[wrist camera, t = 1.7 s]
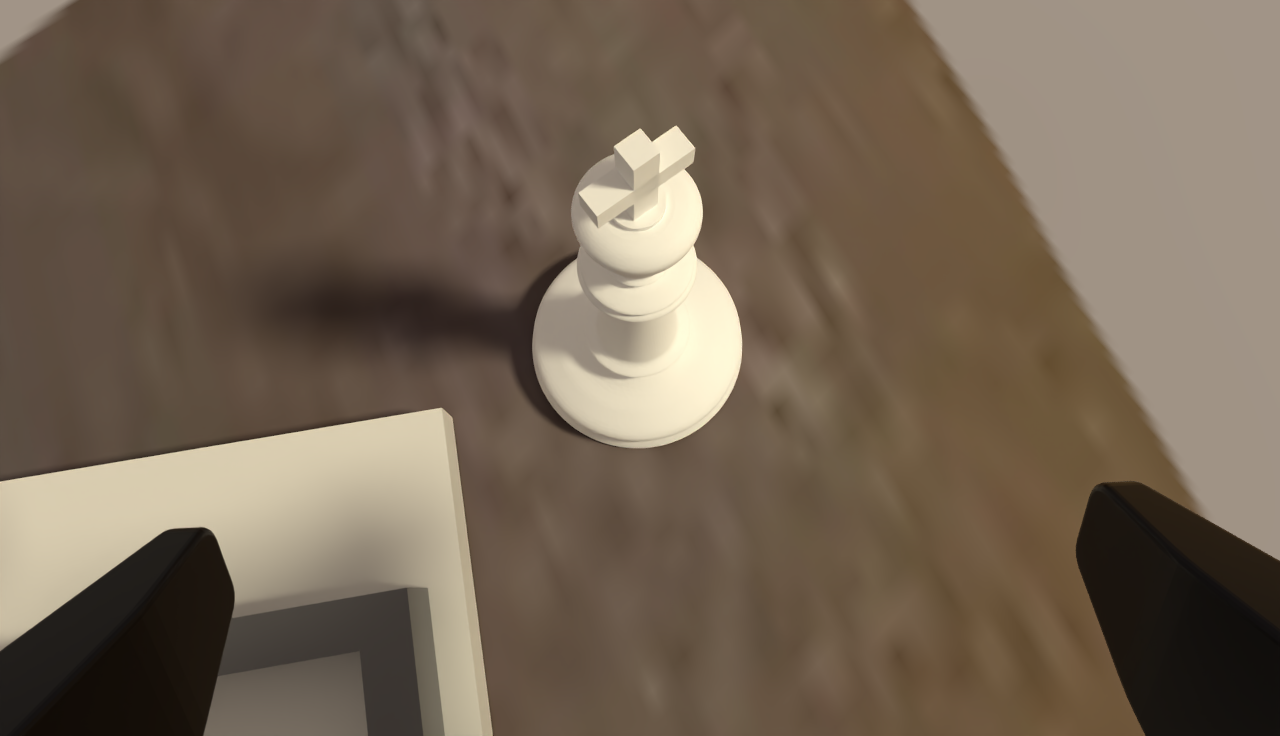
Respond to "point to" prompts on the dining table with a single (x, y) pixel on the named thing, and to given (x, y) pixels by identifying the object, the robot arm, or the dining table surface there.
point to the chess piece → (637, 305)
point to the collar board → (288, 571)
